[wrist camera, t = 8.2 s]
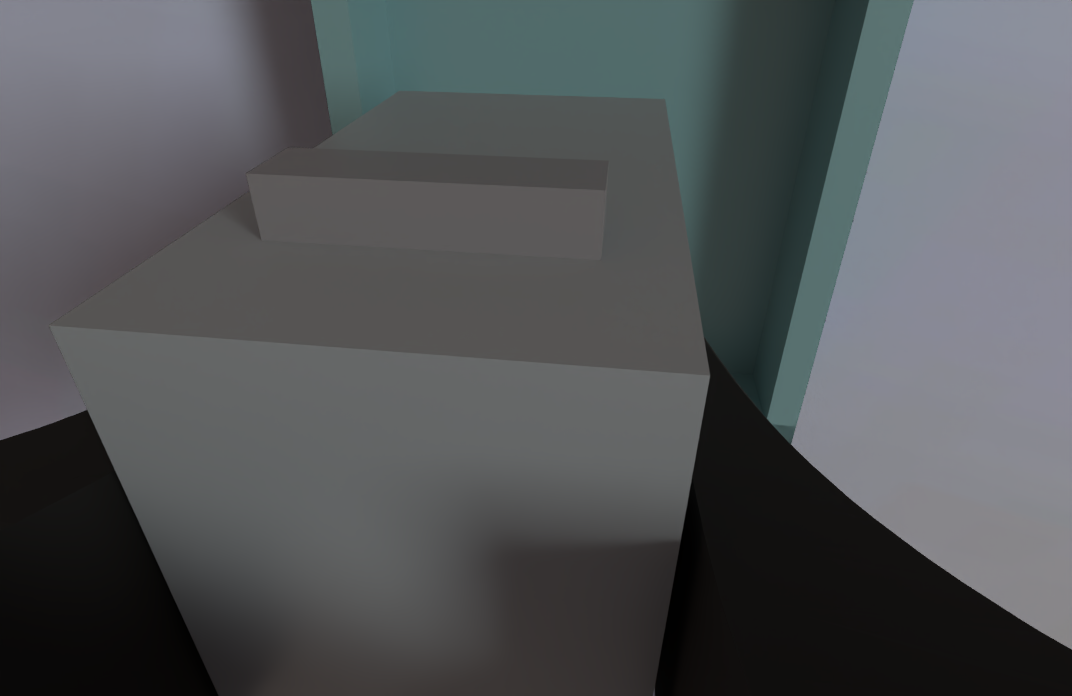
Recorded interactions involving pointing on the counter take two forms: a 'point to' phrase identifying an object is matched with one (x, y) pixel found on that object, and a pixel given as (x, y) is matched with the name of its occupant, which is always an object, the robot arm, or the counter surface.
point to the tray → (680, 129)
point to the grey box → (418, 403)
